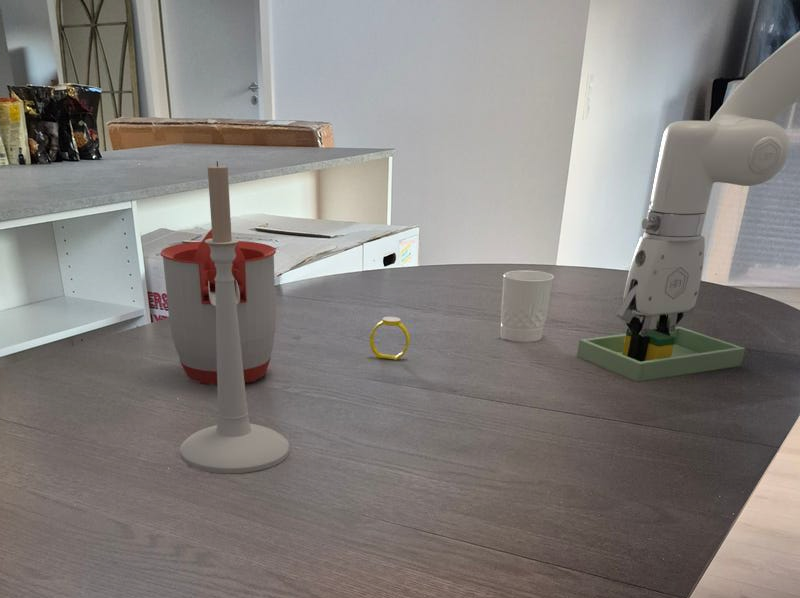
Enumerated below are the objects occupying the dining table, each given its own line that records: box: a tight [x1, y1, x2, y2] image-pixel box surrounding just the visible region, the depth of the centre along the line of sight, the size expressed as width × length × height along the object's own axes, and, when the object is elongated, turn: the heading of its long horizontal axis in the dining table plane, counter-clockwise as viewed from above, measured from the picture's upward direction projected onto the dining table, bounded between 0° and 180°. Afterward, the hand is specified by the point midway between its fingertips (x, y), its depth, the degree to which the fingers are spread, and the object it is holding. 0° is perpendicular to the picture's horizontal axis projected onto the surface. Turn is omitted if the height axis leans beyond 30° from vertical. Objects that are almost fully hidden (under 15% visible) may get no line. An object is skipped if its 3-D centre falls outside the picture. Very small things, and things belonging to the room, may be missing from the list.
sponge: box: [622, 327, 675, 361], centre depth 126 cm, size 3×7×4 cm, turn 23°
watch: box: [369, 316, 410, 361], centre depth 130 cm, size 6×3×6 cm, turn 77°
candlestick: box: [179, 160, 290, 474], centre depth 91 cm, size 13×13×30 cm
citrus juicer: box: [160, 228, 277, 386], centre depth 118 cm, size 16×17×20 cm
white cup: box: [499, 269, 555, 343], centre depth 137 cm, size 8×8×10 cm
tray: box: [576, 326, 746, 383], centre depth 128 cm, size 20×14×3 cm
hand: (645, 358), depth 127 cm, fingers closed on sponge, 3 cm apart
